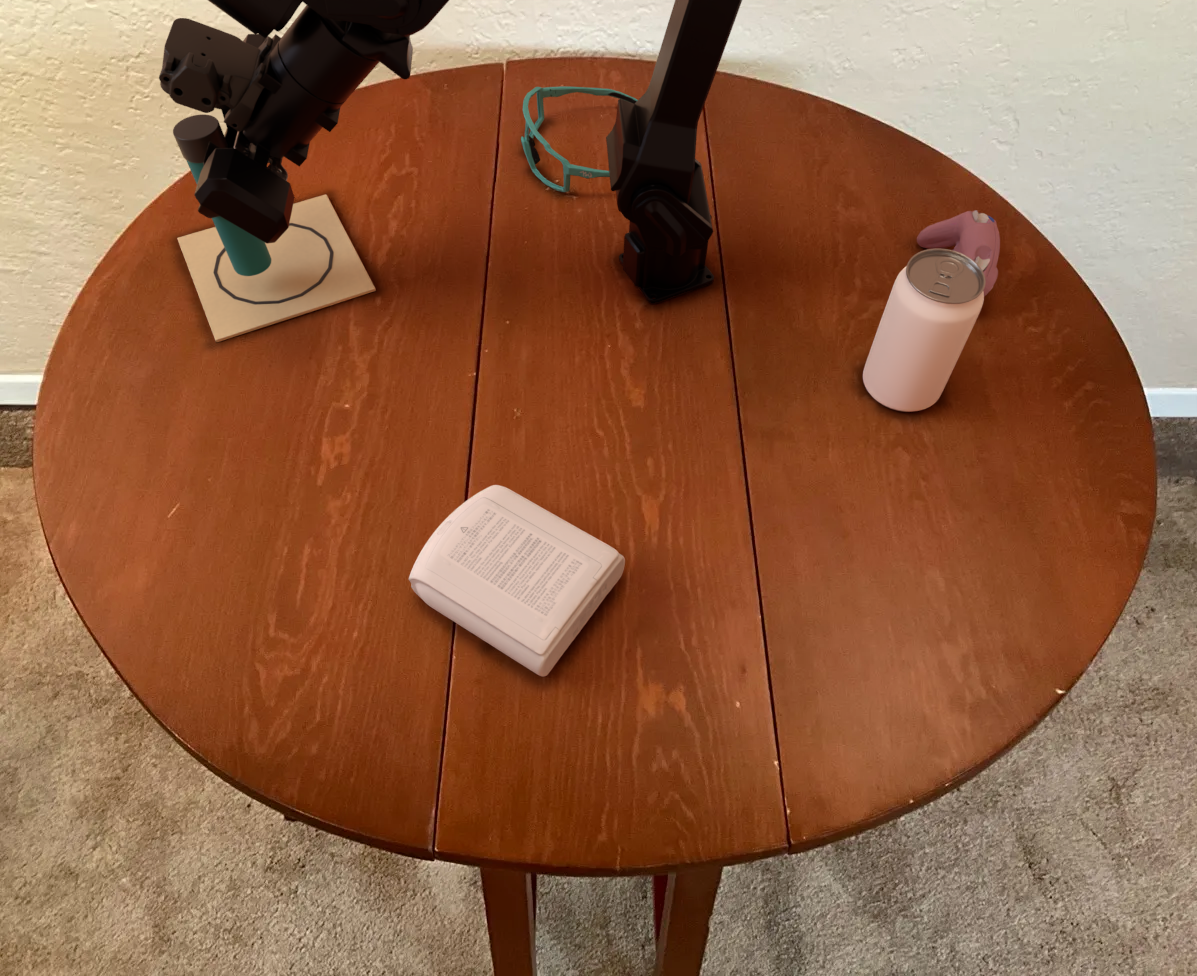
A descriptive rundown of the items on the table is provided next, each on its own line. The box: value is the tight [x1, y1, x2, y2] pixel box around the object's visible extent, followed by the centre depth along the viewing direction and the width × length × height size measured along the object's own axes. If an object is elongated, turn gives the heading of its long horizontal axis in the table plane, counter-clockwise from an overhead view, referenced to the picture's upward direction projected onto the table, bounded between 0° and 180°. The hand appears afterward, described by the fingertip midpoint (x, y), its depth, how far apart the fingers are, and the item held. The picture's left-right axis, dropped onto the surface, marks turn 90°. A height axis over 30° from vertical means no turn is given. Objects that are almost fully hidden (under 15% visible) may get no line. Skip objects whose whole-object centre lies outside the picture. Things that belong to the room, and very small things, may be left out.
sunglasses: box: [520, 85, 639, 193], centre depth 94 cm, size 14×15×5 cm
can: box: [862, 248, 986, 413], centre depth 74 cm, size 6×6×12 cm
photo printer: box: [408, 484, 626, 677], centre depth 66 cm, size 10×4×12 cm
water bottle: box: [172, 113, 271, 276], centre depth 77 cm, size 3×3×13 cm
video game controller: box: [916, 209, 1001, 297], centre depth 84 cm, size 10×5×7 cm, turn 168°
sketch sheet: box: [176, 193, 377, 343], centre depth 86 cm, size 14×14×1 cm
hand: (207, 199), depth 77 cm, fingers closed on water bottle, 3 cm apart
